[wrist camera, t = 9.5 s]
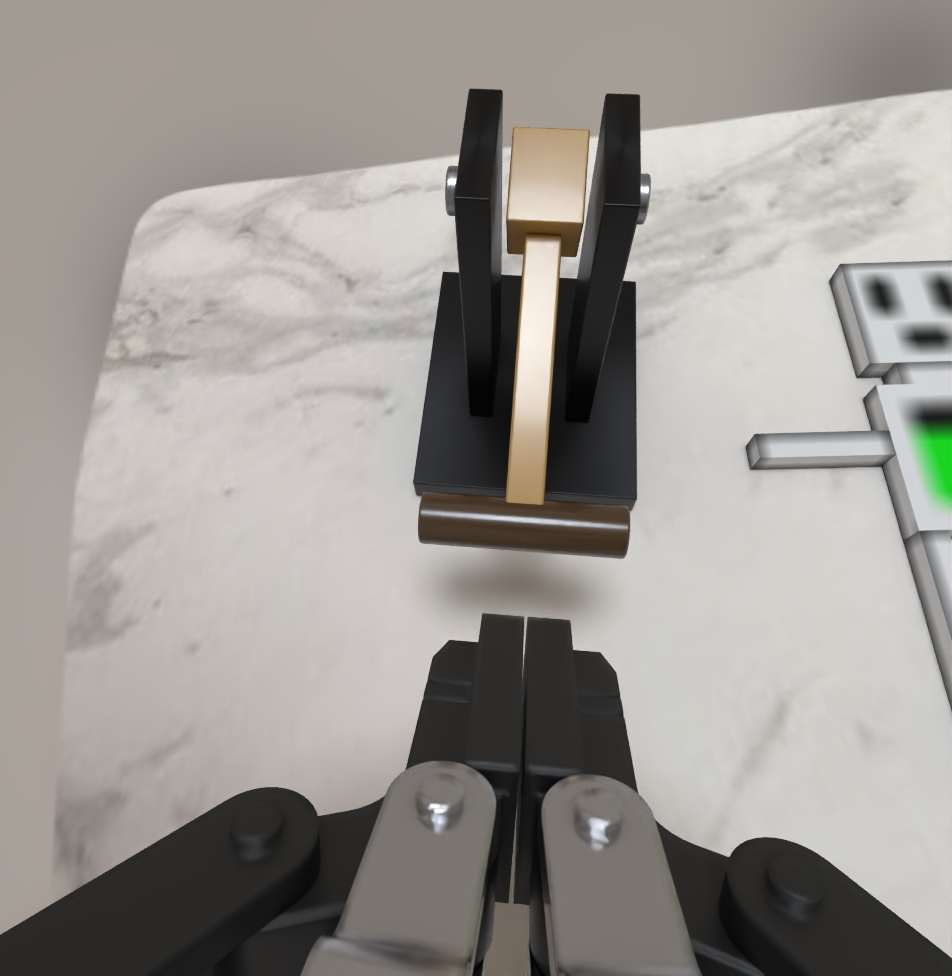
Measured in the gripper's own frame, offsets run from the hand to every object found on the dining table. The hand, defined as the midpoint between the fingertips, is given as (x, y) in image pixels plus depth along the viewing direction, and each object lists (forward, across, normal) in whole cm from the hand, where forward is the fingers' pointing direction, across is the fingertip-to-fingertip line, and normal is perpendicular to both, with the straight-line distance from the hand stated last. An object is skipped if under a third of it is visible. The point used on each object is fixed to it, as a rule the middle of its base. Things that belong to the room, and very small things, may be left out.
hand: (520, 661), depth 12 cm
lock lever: (+12, 0, -3) cm, 12 cm away
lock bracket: (+20, 0, 0) cm, 20 cm away
